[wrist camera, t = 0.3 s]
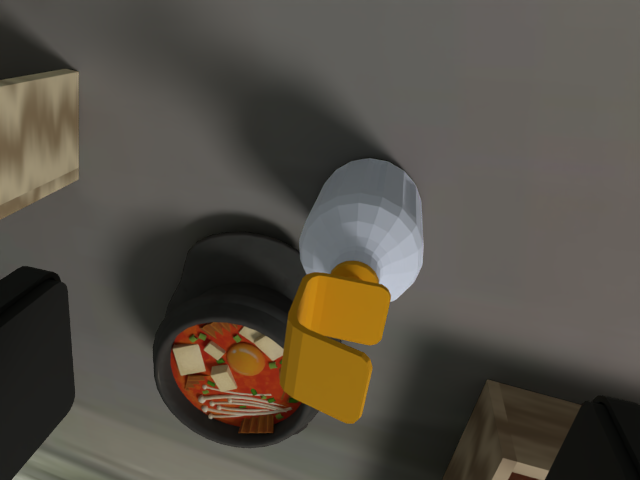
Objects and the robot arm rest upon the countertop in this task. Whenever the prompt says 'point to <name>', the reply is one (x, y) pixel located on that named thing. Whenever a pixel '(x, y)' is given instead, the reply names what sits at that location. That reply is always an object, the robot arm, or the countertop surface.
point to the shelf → (37, 137)
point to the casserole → (231, 341)
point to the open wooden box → (511, 434)
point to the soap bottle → (350, 282)
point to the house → (520, 477)
